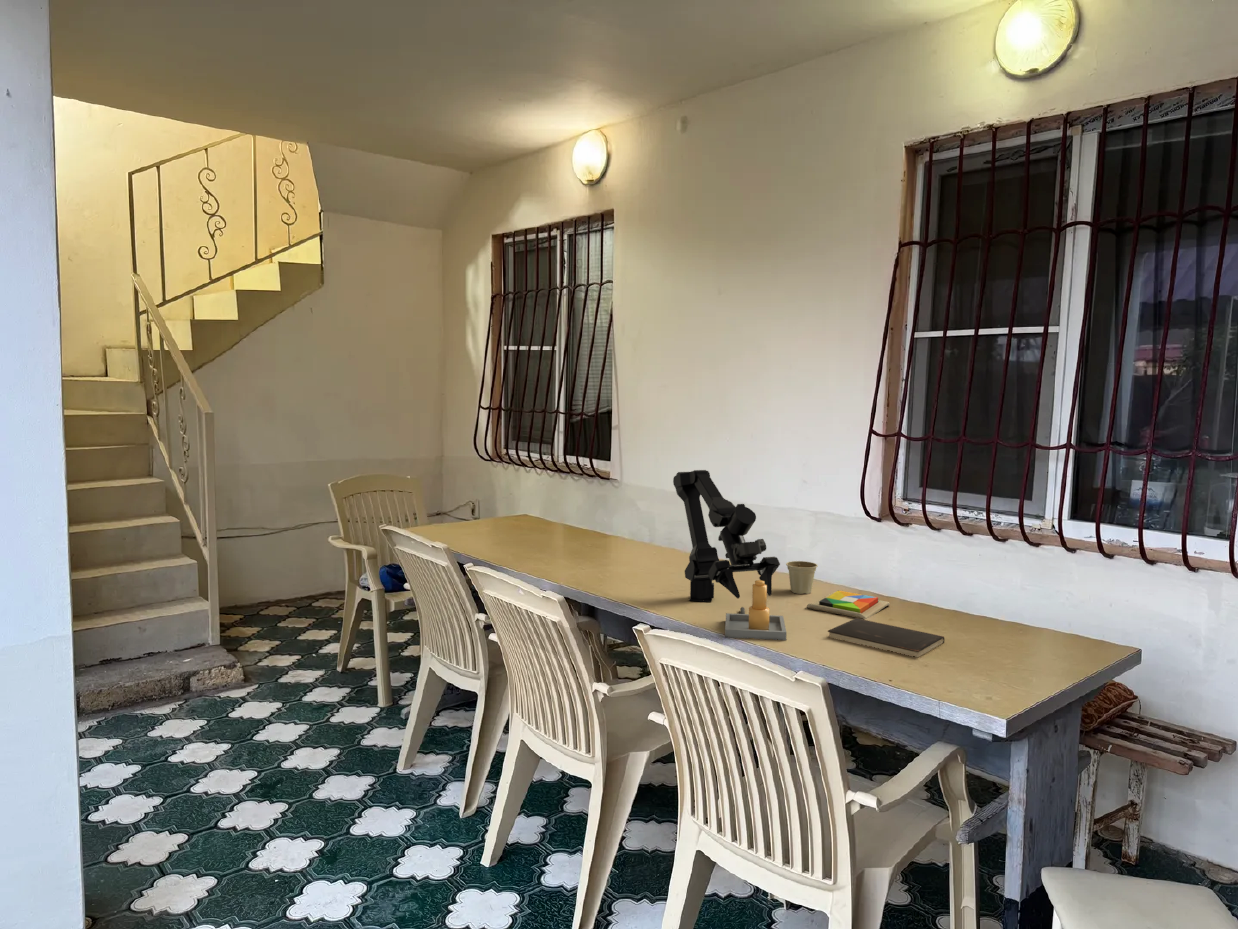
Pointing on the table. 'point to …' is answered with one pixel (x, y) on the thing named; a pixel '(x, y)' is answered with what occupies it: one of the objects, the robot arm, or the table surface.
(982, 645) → the table surface
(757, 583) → the orange rounded stepped post
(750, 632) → the grey square tray
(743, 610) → the rod
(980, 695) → the table surface
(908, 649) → the hardcover book
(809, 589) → the flower pot
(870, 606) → the wooden puzzle
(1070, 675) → the table surface
